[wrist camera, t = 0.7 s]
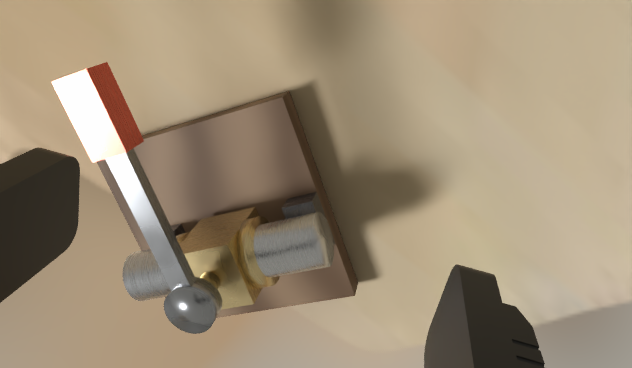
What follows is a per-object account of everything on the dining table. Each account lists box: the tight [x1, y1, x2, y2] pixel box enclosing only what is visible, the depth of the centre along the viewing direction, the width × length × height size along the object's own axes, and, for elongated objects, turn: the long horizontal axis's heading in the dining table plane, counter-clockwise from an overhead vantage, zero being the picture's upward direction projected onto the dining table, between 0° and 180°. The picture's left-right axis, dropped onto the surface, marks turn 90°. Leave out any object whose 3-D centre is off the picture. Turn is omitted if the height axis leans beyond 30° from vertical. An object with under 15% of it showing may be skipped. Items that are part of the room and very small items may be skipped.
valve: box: [123, 192, 335, 310], centre depth 32 cm, size 13×4×7 cm, turn 109°
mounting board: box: [96, 91, 358, 318], centre depth 35 cm, size 14×14×2 cm
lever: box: [52, 62, 222, 334], centre depth 26 cm, size 14×3×2 cm, turn 20°
